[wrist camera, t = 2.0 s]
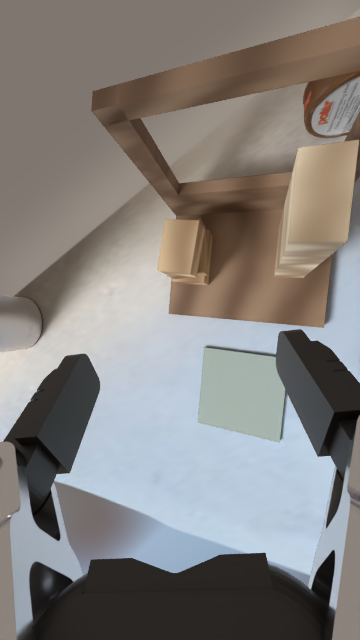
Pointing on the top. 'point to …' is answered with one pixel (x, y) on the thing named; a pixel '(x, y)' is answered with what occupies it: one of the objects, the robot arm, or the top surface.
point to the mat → (241, 393)
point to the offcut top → (181, 247)
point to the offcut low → (205, 279)
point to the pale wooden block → (316, 207)
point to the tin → (332, 105)
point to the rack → (242, 192)
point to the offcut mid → (202, 262)
